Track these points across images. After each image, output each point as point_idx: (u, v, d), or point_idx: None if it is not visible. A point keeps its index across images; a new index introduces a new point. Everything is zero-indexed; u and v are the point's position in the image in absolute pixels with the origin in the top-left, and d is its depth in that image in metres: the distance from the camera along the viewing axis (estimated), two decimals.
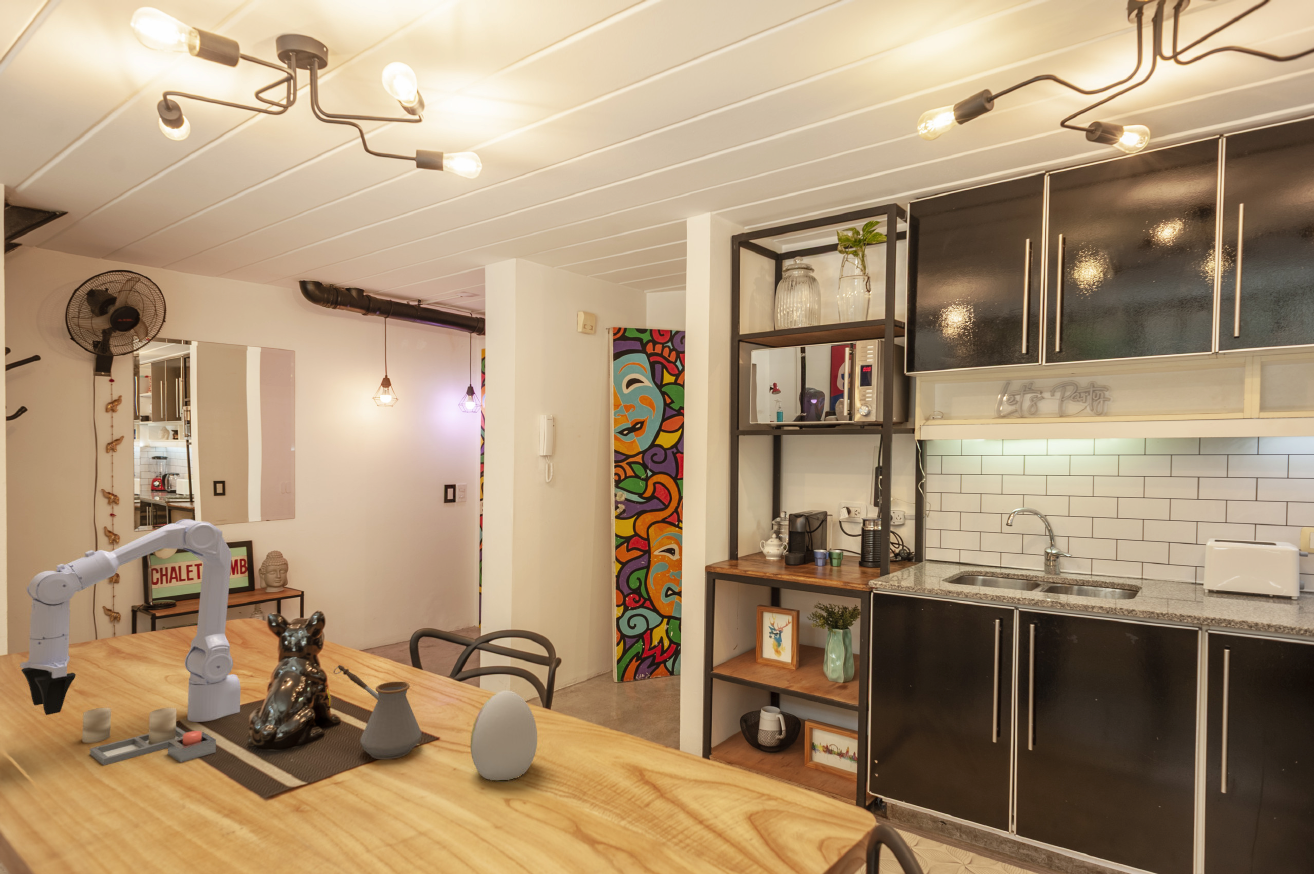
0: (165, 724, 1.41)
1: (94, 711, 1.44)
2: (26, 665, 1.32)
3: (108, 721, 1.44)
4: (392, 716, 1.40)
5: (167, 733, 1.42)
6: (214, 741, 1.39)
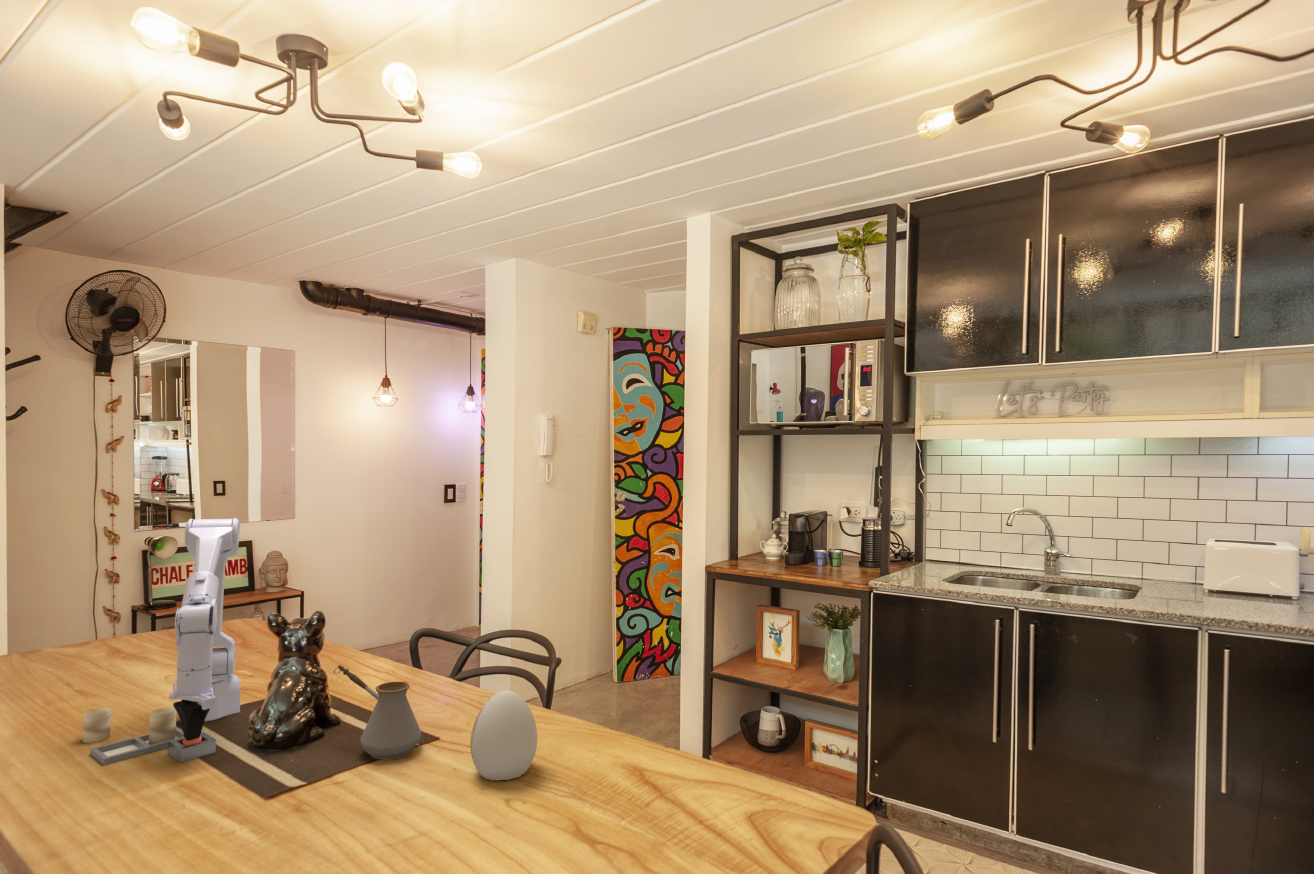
0: (165, 724, 1.41)
1: (94, 711, 1.44)
2: (175, 696, 1.35)
3: (108, 721, 1.44)
4: (392, 716, 1.40)
5: (167, 733, 1.42)
6: (214, 741, 1.39)
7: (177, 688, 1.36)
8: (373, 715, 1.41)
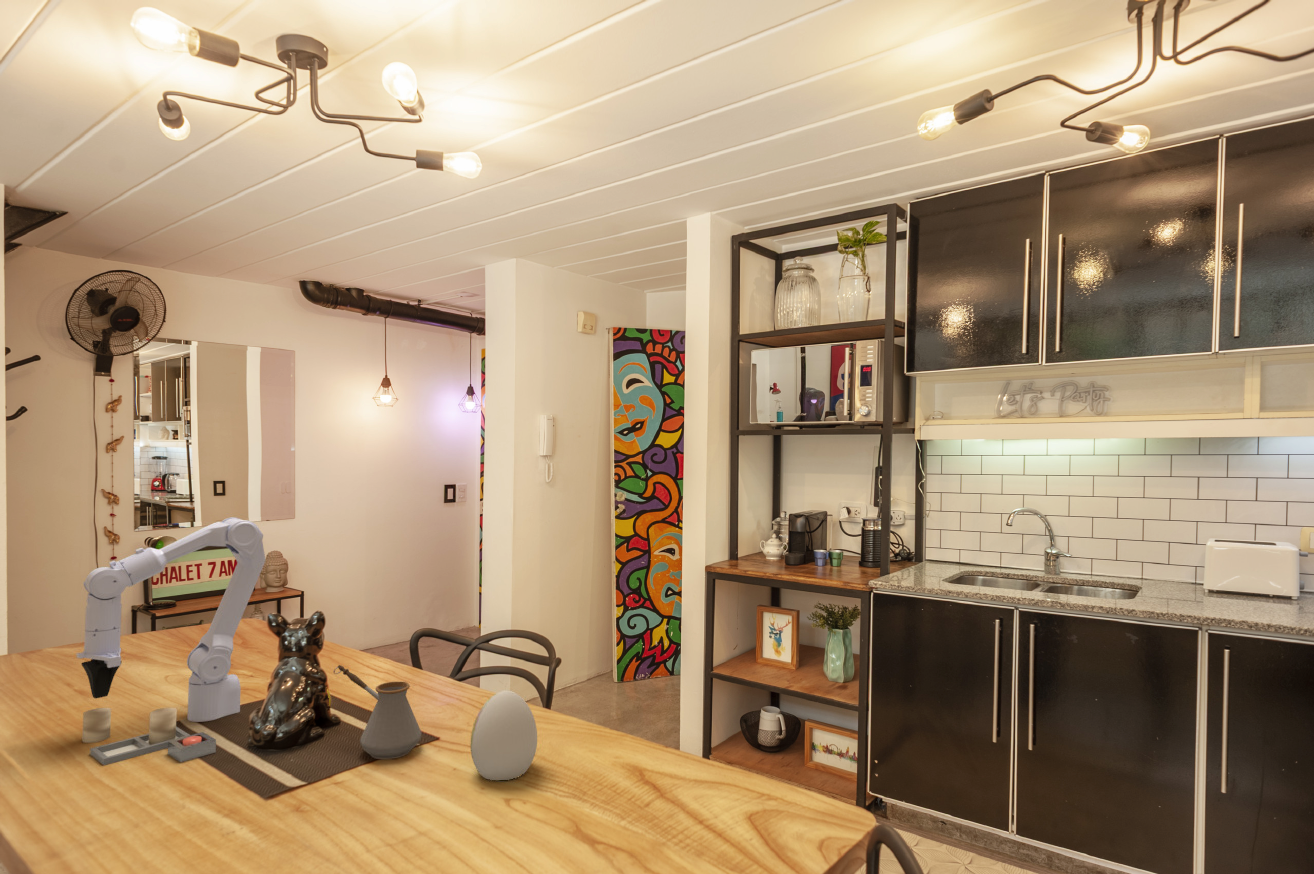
0: (165, 724, 1.41)
1: (94, 711, 1.44)
2: (82, 655, 1.41)
3: (108, 721, 1.44)
4: (392, 716, 1.40)
5: (167, 733, 1.42)
6: (214, 741, 1.39)
7: (85, 648, 1.42)
8: (373, 715, 1.41)
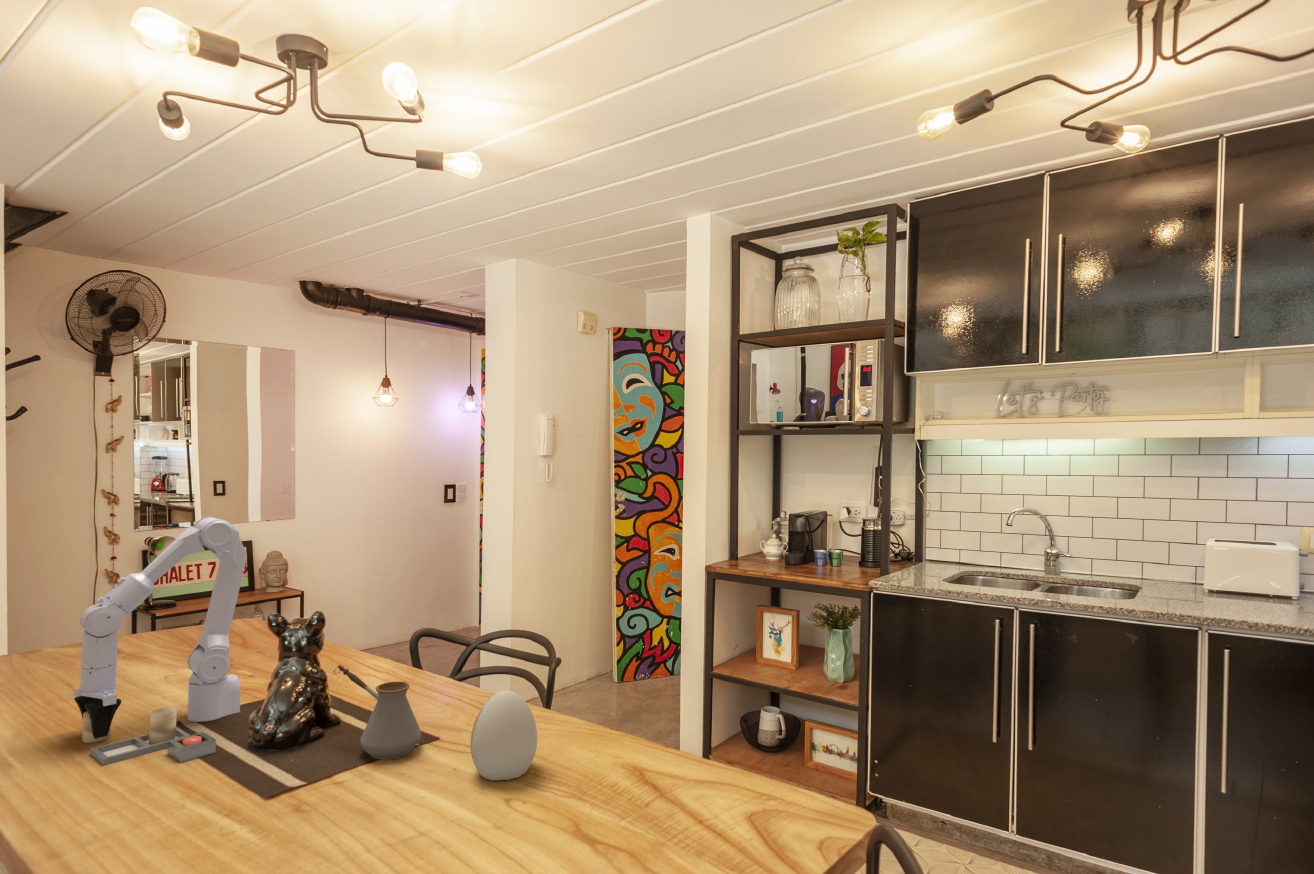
0: (165, 724, 1.41)
1: None
2: (78, 693, 1.41)
3: None
4: (392, 716, 1.40)
5: (167, 733, 1.42)
6: (214, 741, 1.39)
7: (80, 685, 1.42)
8: (373, 715, 1.41)
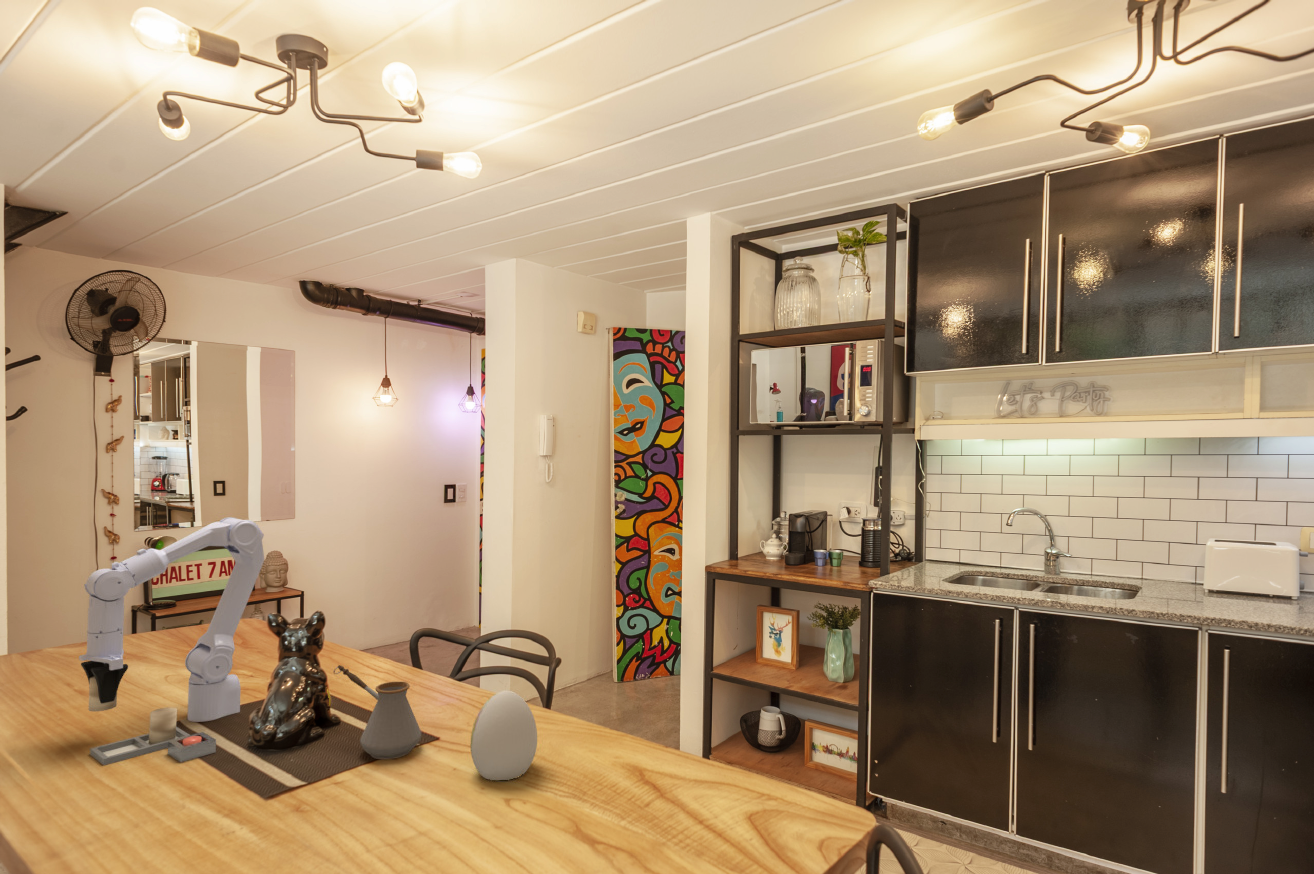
0: (164, 724, 1.41)
1: None
2: (85, 658, 1.40)
3: None
4: (392, 716, 1.40)
5: (167, 733, 1.42)
6: (214, 741, 1.39)
7: (87, 650, 1.41)
8: (373, 715, 1.41)
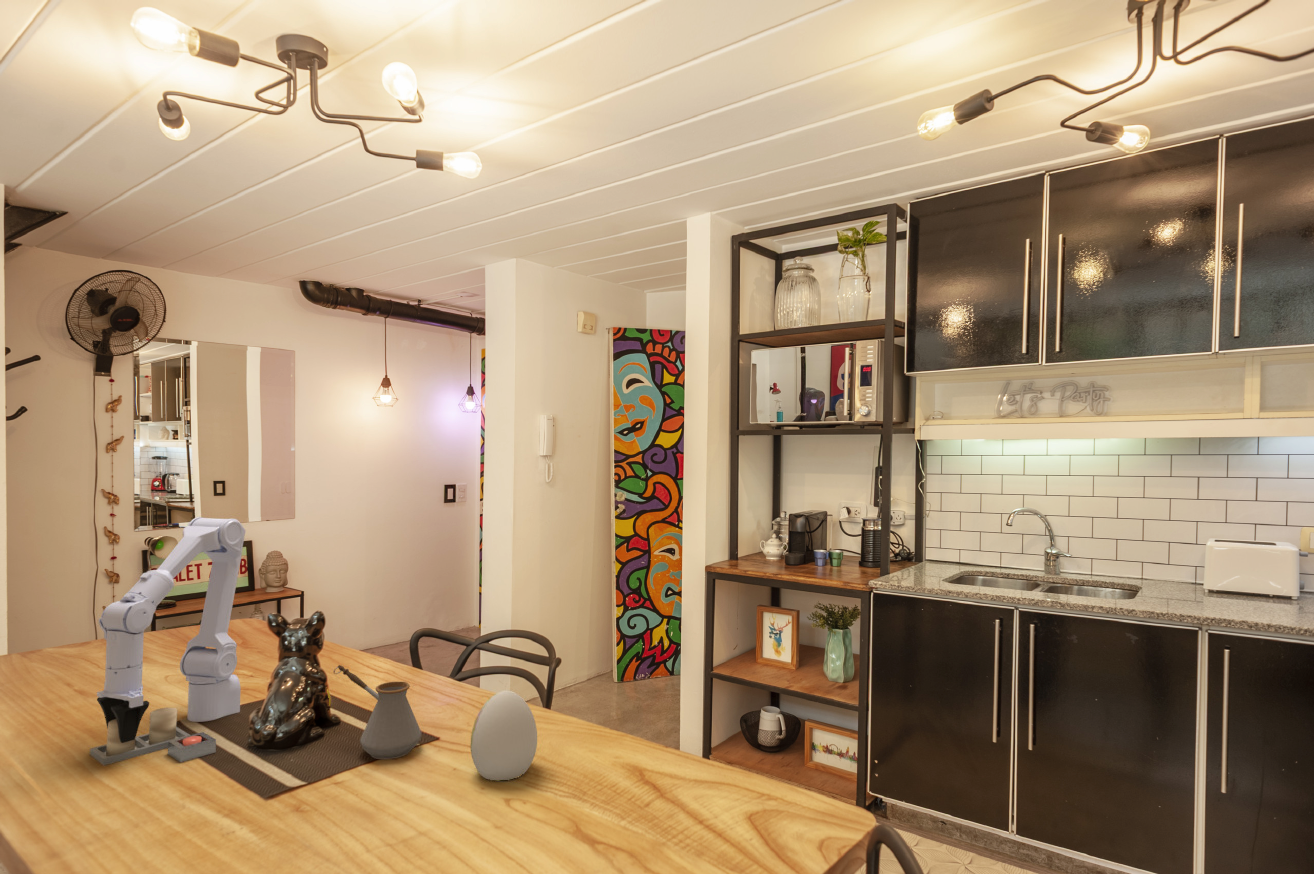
0: (164, 724, 1.41)
1: None
2: (103, 694, 1.34)
3: None
4: (392, 716, 1.40)
5: (166, 733, 1.42)
6: (214, 741, 1.39)
7: (105, 686, 1.36)
8: (373, 715, 1.41)
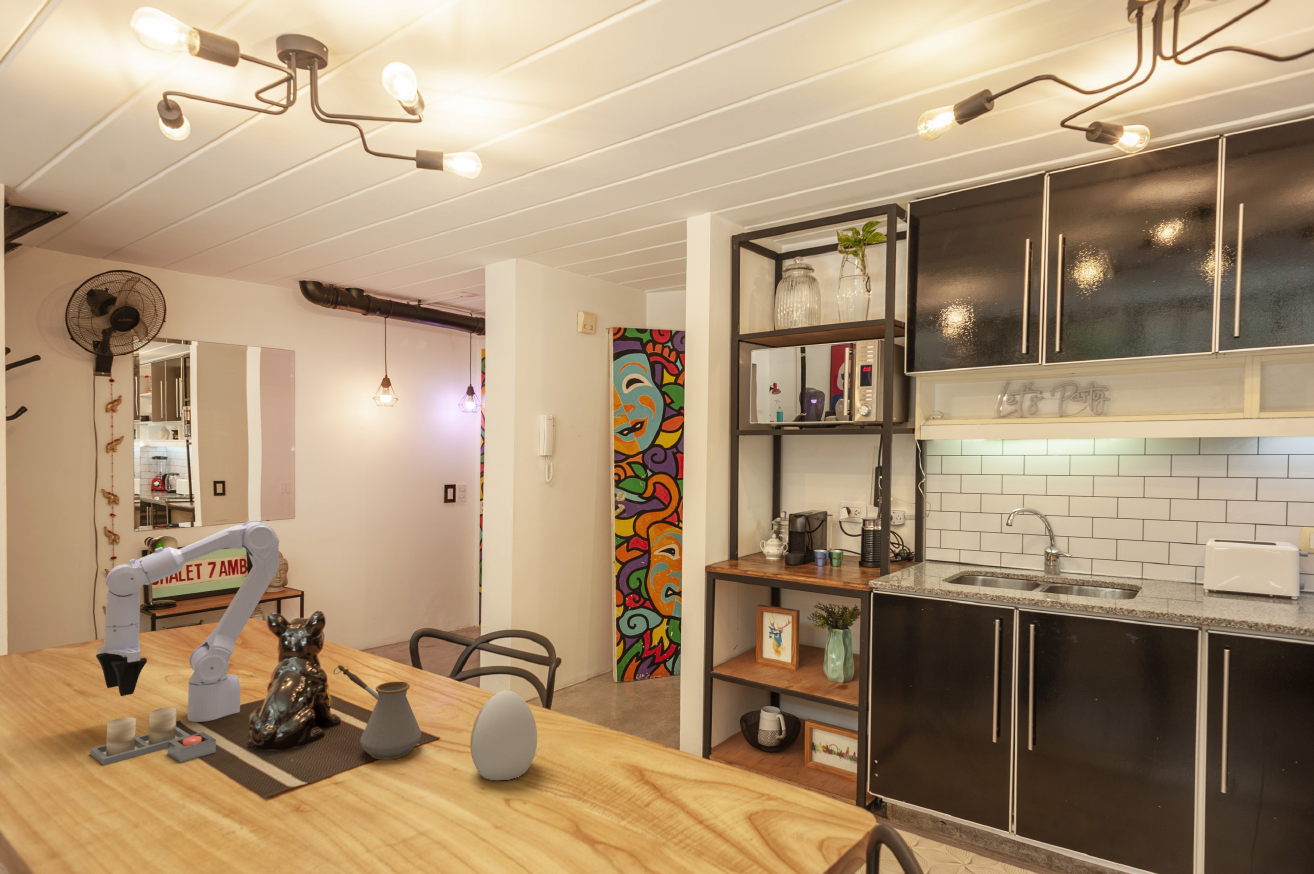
0: (163, 724, 1.41)
1: (118, 721, 1.38)
2: (103, 650, 1.45)
3: (133, 731, 1.38)
4: (392, 716, 1.40)
5: (165, 734, 1.41)
6: (214, 741, 1.39)
7: (105, 643, 1.46)
8: (373, 715, 1.41)
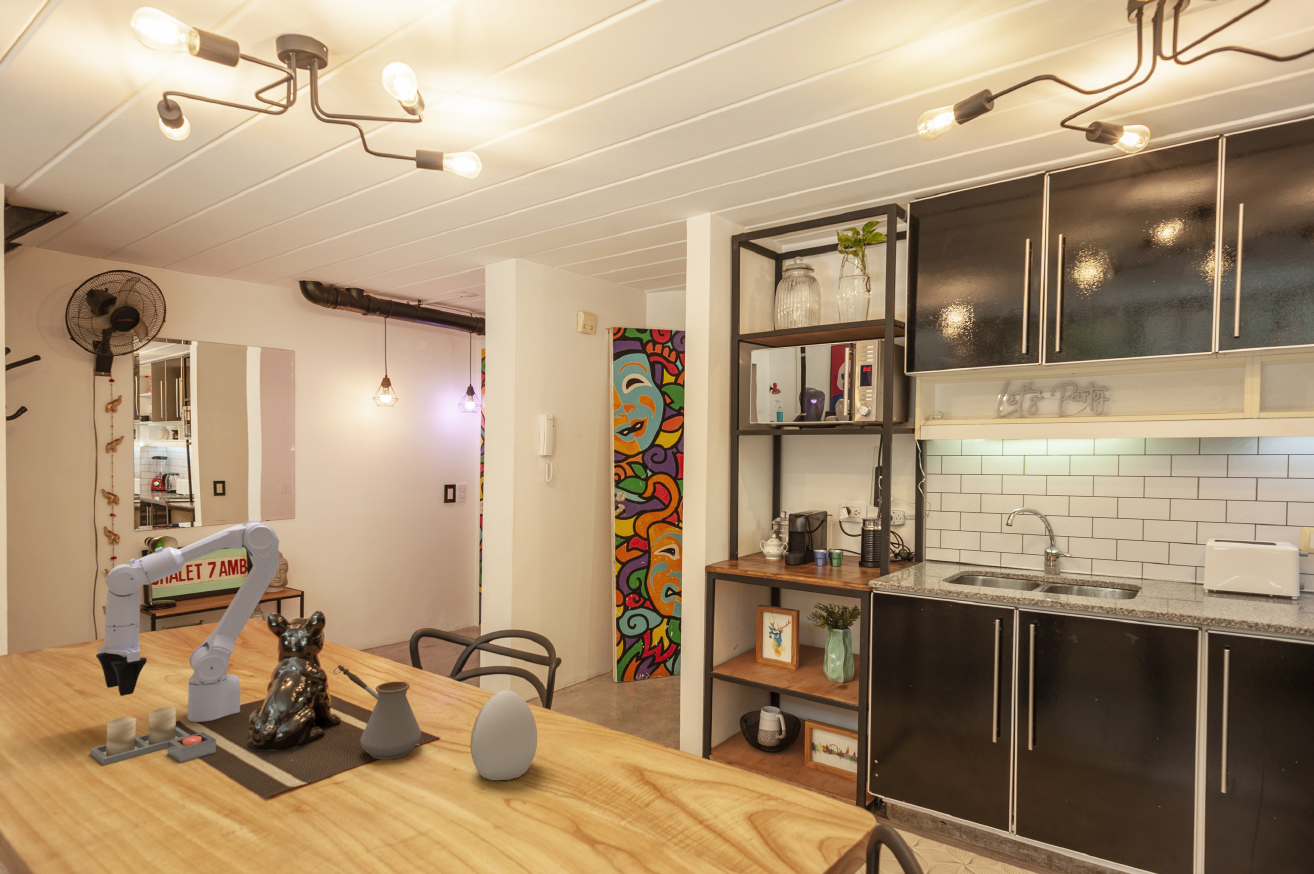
0: (162, 724, 1.41)
1: (118, 721, 1.38)
2: (103, 650, 1.45)
3: (133, 731, 1.38)
4: (392, 716, 1.40)
5: (165, 733, 1.41)
6: (214, 741, 1.39)
7: (105, 643, 1.46)
8: (373, 715, 1.41)
